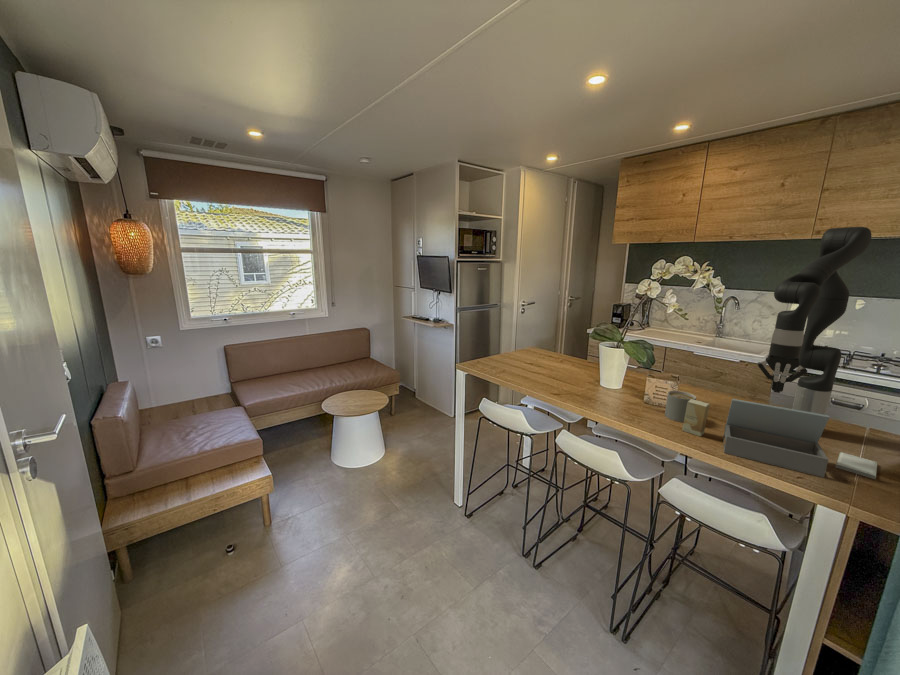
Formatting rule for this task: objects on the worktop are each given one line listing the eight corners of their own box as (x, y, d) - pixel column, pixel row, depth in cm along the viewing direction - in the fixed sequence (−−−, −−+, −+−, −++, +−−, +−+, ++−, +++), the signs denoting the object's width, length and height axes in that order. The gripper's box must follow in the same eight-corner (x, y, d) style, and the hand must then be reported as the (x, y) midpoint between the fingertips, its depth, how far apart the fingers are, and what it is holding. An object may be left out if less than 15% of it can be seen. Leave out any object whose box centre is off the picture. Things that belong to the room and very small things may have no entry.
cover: (726, 424, 128) (726, 421, 129) (817, 443, 115) (817, 440, 115) (732, 400, 122) (732, 398, 123) (829, 417, 108) (828, 414, 109)
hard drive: (876, 476, 105) (877, 461, 113) (836, 464, 112) (840, 451, 119) (874, 481, 106) (876, 466, 113) (835, 469, 112) (839, 455, 120)
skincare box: (681, 430, 136) (686, 401, 133) (685, 427, 138) (690, 398, 136) (701, 437, 131) (706, 406, 128) (705, 433, 134) (710, 403, 131)
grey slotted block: (723, 439, 130) (725, 423, 128) (814, 460, 116) (818, 443, 115) (724, 452, 120) (727, 436, 119) (824, 477, 106) (828, 459, 105)
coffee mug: (686, 424, 141) (690, 401, 139) (660, 416, 149) (663, 393, 147) (700, 416, 149) (703, 394, 147) (674, 408, 156) (677, 387, 154)
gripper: (811, 343, 117) (800, 393, 120) (759, 338, 124) (750, 385, 128) (817, 347, 111) (805, 399, 114) (761, 341, 118) (752, 391, 122)
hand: (776, 391), depth 121 cm, fingers closed
